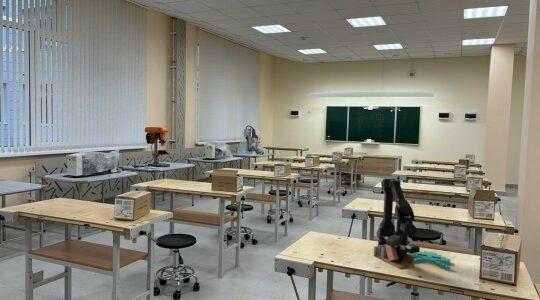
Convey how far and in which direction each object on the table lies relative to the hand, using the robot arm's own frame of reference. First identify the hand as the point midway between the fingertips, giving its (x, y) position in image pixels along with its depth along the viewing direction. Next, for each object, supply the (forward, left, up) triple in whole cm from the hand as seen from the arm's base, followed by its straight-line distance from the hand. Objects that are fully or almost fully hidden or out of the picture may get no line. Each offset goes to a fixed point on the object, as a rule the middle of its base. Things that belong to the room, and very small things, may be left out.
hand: (400, 261), depth 193 cm
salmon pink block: (0, -3, 0) cm, 3 cm away
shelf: (-1, -6, -2) cm, 6 cm away
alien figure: (-19, 0, -3) cm, 19 cm away
